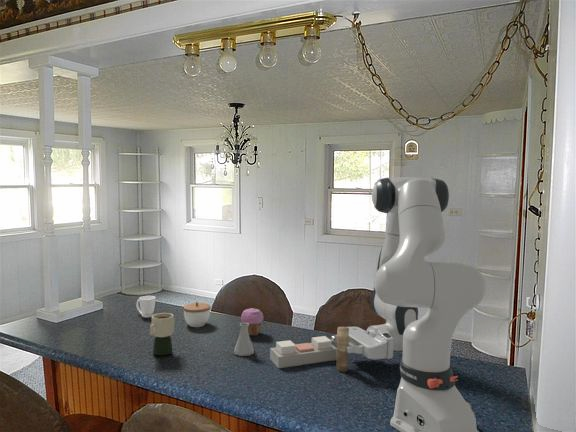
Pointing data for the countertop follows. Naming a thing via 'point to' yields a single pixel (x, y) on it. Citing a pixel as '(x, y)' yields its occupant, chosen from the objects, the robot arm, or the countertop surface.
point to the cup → (146, 305)
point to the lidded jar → (196, 314)
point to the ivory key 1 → (285, 347)
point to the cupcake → (252, 320)
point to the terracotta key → (304, 347)
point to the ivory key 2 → (321, 343)
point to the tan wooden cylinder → (342, 349)
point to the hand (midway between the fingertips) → (339, 344)
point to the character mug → (162, 332)
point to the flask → (244, 342)
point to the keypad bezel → (302, 357)
